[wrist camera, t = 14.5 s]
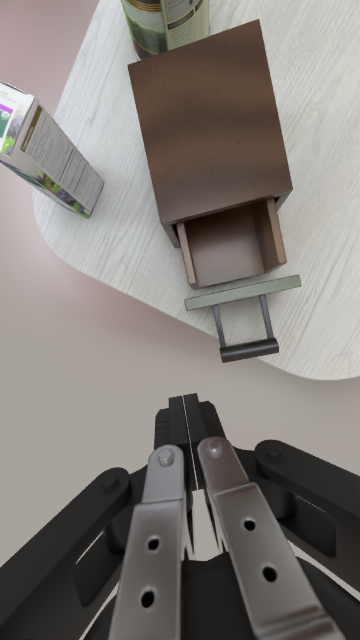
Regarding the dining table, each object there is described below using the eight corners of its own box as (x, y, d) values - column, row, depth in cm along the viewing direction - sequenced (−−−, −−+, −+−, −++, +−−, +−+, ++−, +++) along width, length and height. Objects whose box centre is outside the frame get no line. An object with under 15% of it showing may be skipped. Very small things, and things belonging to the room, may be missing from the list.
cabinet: (268, 224, 33) (293, 189, 23) (174, 247, 34) (160, 223, 25) (244, 105, 32) (259, 18, 23) (150, 134, 34) (127, 64, 24)
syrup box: (55, 203, 36) (-47, 133, 22) (71, 164, 36) (-22, 67, 21) (89, 219, 36) (7, 159, 21) (106, 180, 35) (34, 92, 21)
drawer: (289, 343, 32) (315, 354, 24) (202, 359, 34) (200, 375, 26) (256, 179, 32) (272, 138, 24) (169, 203, 33) (156, 171, 25)
